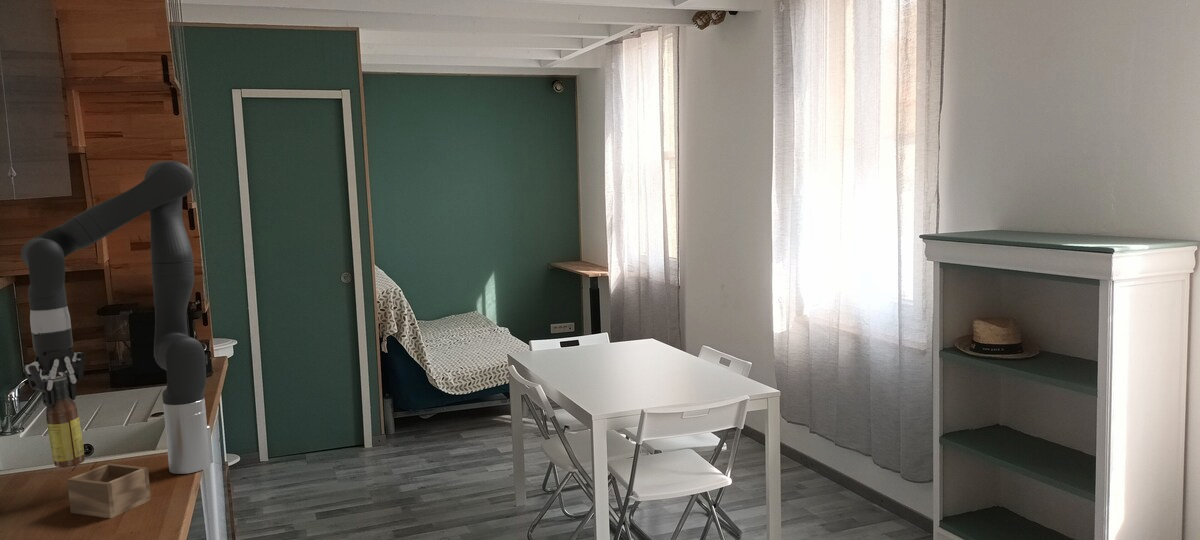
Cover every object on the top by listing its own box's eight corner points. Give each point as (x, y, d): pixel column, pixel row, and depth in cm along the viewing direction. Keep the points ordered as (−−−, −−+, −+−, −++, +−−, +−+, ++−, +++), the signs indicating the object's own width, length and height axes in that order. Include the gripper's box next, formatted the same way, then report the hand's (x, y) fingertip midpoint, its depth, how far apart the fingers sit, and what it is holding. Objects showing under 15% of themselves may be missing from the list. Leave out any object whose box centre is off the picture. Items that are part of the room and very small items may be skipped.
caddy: (112, 495, 199) (108, 463, 198) (151, 500, 195) (147, 467, 194) (70, 512, 189) (66, 479, 188) (110, 518, 185) (107, 484, 184)
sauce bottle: (79, 457, 202) (69, 373, 199) (90, 462, 198) (80, 376, 195) (47, 465, 197) (37, 379, 194) (58, 471, 193) (47, 383, 190)
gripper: (67, 321, 201) (76, 393, 203) (8, 334, 188) (17, 411, 190) (92, 322, 198) (100, 395, 201) (33, 335, 185) (43, 413, 187)
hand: (60, 402), depth 195 cm, fingers closed on sauce bottle, 4 cm apart
